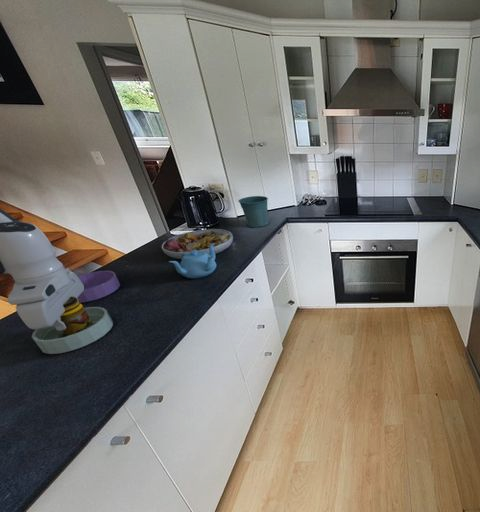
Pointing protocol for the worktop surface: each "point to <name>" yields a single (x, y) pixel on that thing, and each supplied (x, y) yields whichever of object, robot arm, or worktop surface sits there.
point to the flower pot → (255, 210)
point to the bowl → (197, 242)
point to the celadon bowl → (52, 345)
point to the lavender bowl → (97, 285)
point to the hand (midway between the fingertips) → (69, 320)
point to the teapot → (196, 263)
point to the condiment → (74, 318)
